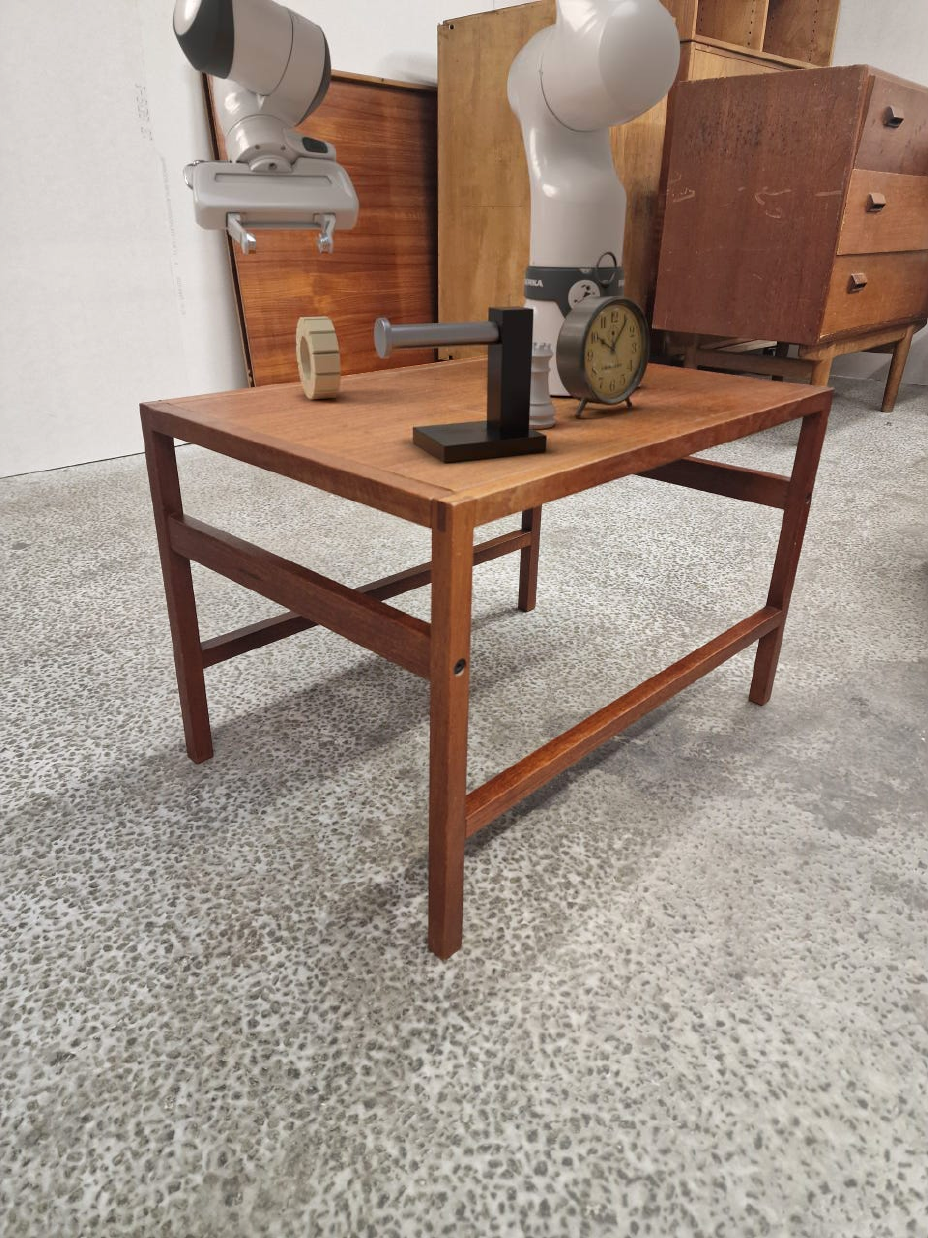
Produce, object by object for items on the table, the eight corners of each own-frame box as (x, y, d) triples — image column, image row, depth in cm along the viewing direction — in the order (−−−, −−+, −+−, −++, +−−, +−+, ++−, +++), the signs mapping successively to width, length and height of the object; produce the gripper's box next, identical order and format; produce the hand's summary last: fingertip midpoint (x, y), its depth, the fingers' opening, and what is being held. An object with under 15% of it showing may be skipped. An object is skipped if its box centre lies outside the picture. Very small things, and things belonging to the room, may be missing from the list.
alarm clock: (580, 422, 84) (591, 252, 77) (543, 414, 88) (551, 251, 81) (647, 409, 90) (663, 250, 83) (610, 402, 94) (622, 249, 87)
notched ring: (299, 391, 99) (293, 314, 95) (323, 390, 100) (317, 313, 96) (317, 405, 92) (311, 321, 88) (343, 403, 93) (337, 320, 89)
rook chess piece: (553, 420, 85) (557, 340, 81) (559, 429, 81) (563, 346, 77) (511, 420, 85) (513, 340, 81) (514, 429, 81) (517, 346, 77)
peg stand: (507, 433, 79) (510, 303, 74) (546, 452, 73) (553, 311, 67) (371, 446, 74) (364, 308, 69) (399, 468, 68) (394, 317, 62)
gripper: (179, 137, 95) (201, 229, 91) (346, 144, 103) (372, 229, 99) (181, 182, 101) (201, 270, 97) (339, 185, 108) (364, 267, 104)
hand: (289, 249), depth 98 cm, fingers open, 8 cm apart
